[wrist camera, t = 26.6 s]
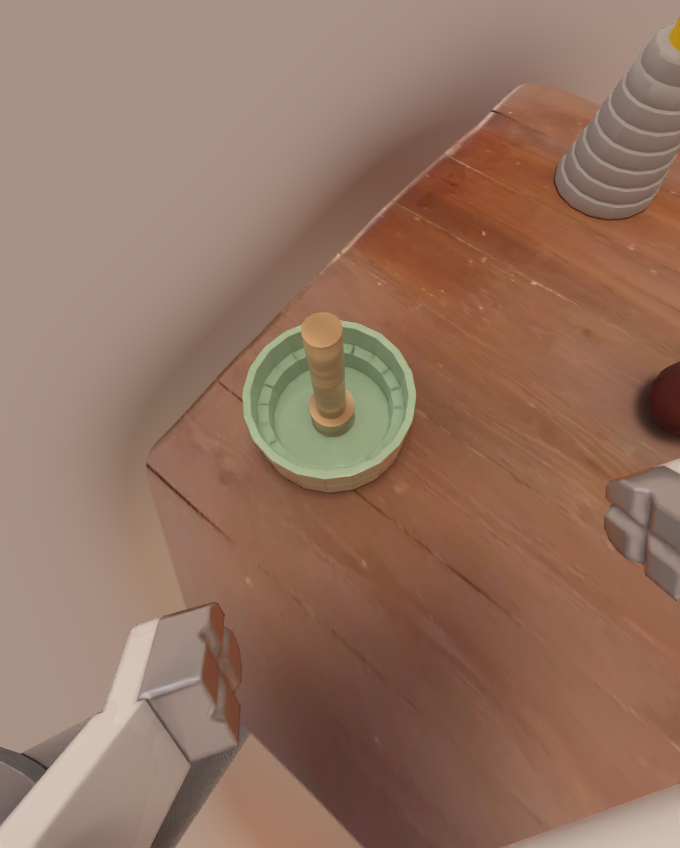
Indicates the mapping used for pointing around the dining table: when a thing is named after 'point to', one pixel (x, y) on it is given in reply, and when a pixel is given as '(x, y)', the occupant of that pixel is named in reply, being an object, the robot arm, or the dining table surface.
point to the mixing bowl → (291, 421)
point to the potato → (666, 399)
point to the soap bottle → (628, 137)
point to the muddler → (327, 374)
